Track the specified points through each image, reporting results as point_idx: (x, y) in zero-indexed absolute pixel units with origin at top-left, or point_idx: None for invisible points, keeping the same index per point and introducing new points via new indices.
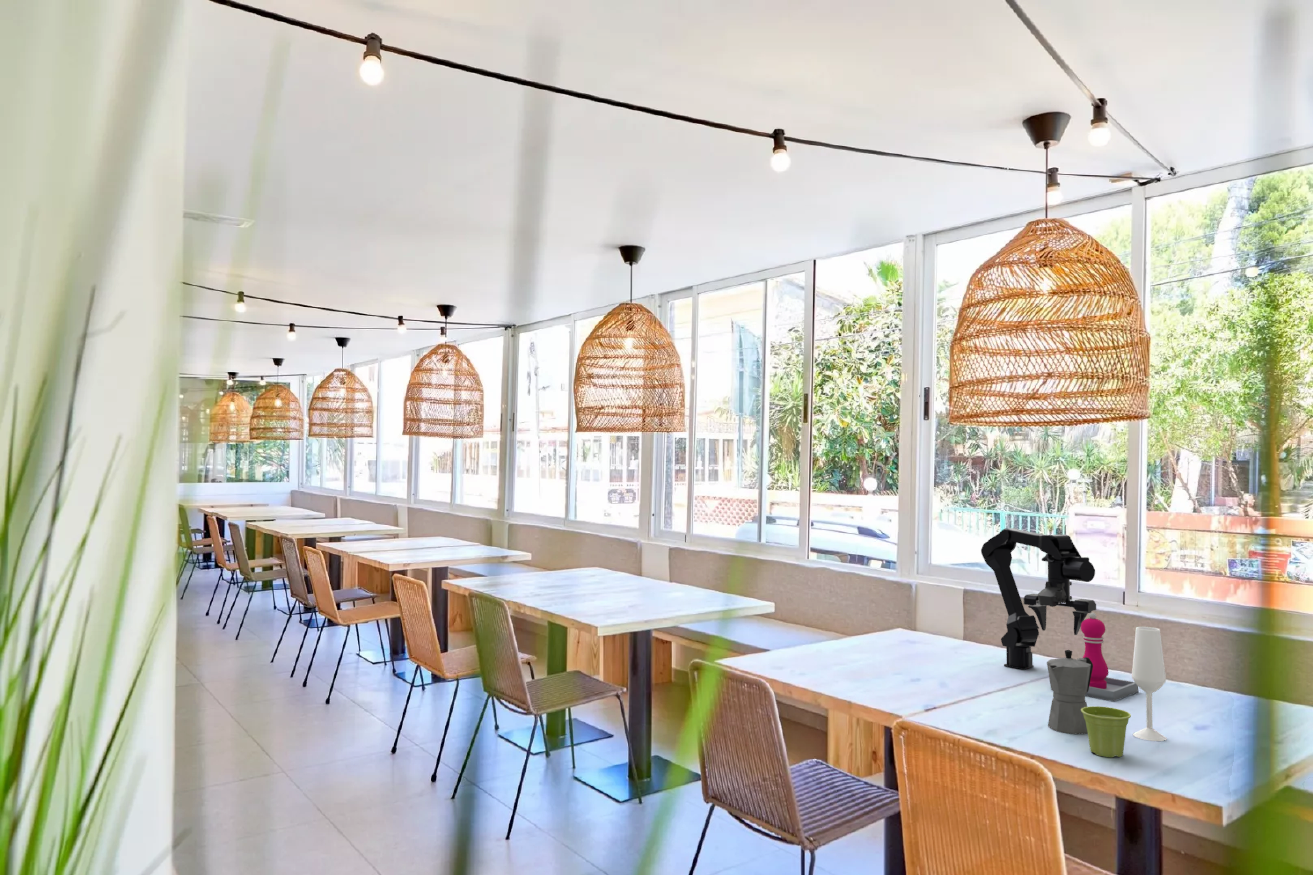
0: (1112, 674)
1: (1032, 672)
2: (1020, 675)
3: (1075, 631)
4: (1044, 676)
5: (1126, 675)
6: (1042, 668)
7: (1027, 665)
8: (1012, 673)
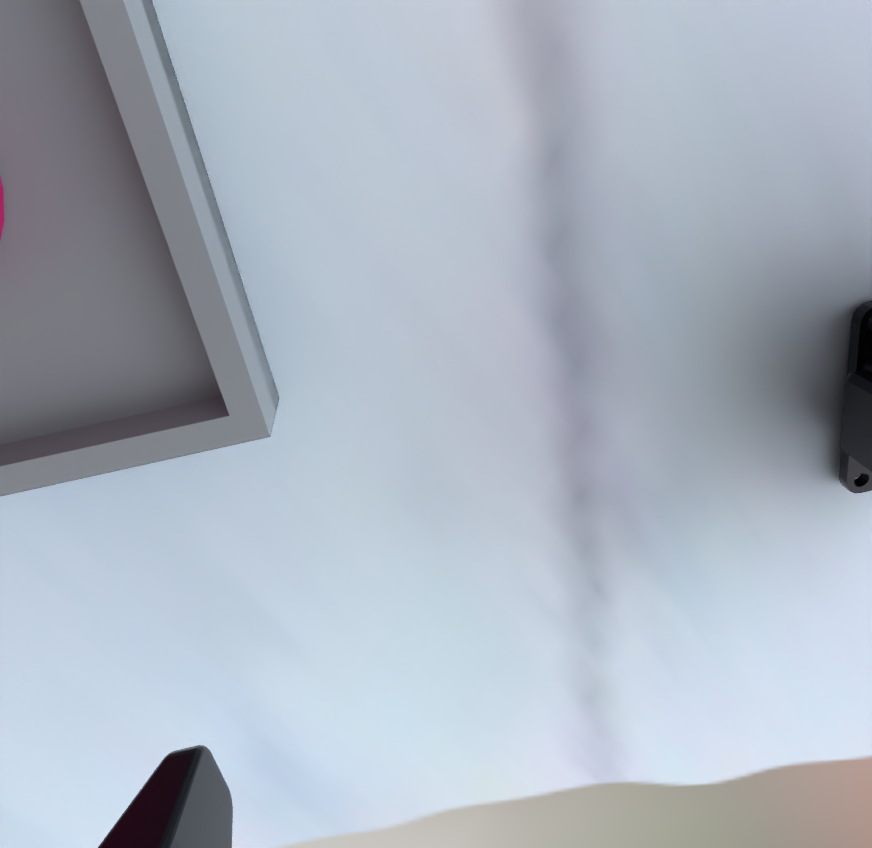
0: (344, 782)
1: (747, 300)
2: (761, 48)
3: (132, 825)
4: (582, 259)
5: (279, 831)
6: (766, 509)
7: (861, 375)
8: (865, 52)
